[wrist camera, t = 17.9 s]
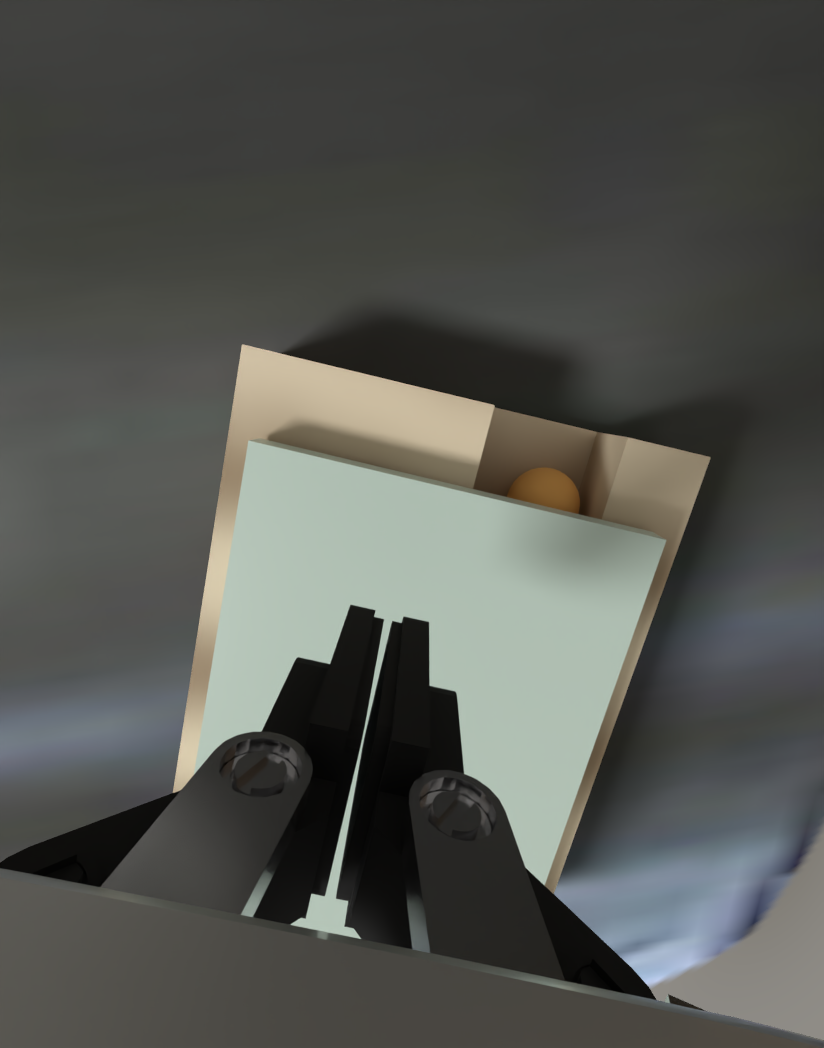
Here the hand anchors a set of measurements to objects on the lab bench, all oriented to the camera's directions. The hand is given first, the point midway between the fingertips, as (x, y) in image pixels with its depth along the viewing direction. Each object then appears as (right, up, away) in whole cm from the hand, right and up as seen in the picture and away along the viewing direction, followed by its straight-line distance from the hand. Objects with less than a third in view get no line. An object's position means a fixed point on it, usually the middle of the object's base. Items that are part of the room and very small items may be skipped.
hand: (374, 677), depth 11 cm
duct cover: (0, -4, +7) cm, 8 cm away
